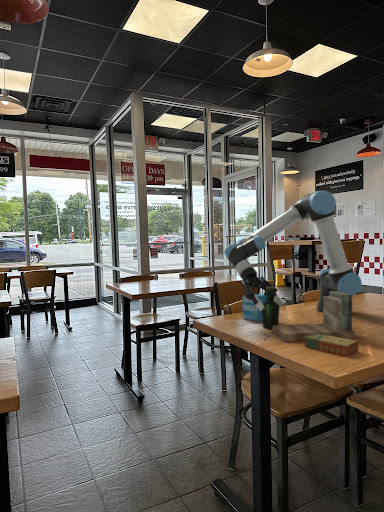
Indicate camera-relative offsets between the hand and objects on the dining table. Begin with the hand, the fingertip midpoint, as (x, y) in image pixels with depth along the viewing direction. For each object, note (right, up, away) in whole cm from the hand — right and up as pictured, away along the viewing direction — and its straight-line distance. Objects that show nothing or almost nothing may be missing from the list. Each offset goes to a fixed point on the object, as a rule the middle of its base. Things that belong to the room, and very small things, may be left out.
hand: (272, 307), depth 158 cm
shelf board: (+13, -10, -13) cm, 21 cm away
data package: (-4, -9, +18) cm, 21 cm away
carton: (+14, -11, -31) cm, 36 cm away
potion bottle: (-1, -9, +2) cm, 10 cm away
